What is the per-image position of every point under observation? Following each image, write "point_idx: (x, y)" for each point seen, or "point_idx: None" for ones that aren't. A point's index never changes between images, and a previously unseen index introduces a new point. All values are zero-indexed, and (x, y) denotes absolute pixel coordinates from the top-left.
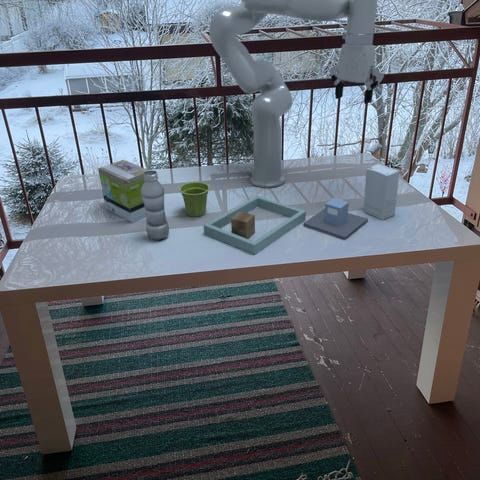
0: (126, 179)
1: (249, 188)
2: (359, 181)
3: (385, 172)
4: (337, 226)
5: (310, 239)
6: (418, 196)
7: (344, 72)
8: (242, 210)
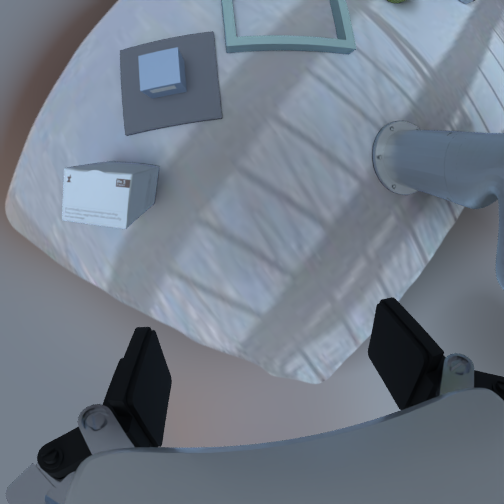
0: None
1: (404, 106)
2: (255, 285)
3: (75, 181)
4: None
5: (172, 12)
6: (131, 300)
7: (456, 485)
8: (334, 3)
